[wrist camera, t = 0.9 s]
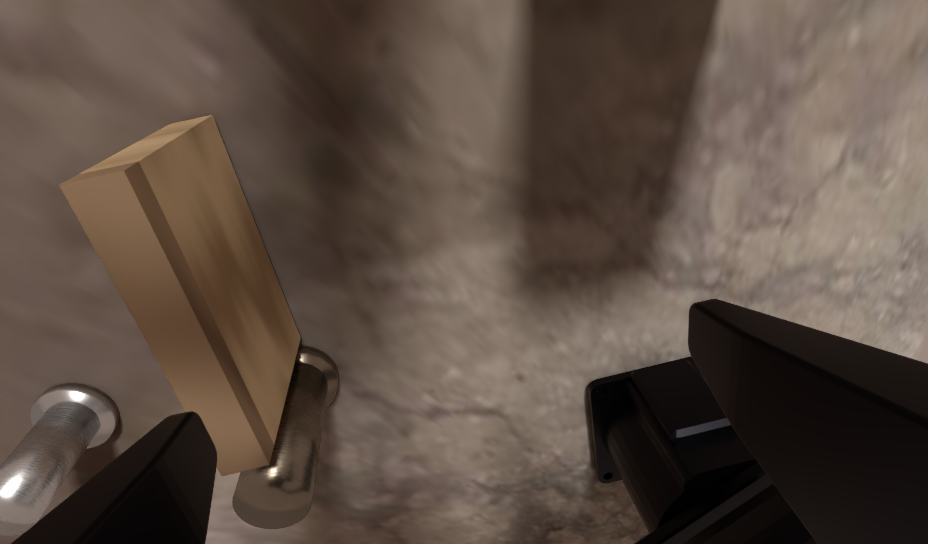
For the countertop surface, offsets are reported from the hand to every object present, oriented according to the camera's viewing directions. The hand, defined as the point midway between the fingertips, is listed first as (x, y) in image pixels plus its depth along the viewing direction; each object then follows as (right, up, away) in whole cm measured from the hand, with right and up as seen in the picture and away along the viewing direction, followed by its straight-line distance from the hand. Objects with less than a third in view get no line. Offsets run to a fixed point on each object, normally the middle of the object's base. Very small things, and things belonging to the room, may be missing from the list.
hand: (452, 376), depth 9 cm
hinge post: (-7, -3, +14) cm, 15 cm away
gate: (-8, +3, +11) cm, 14 cm away
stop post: (-16, -4, +13) cm, 21 cm away
